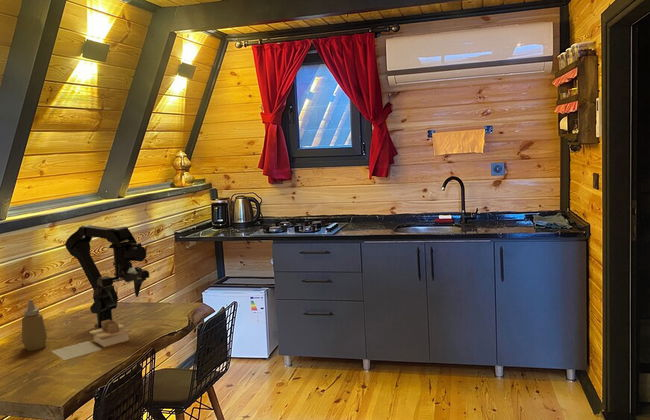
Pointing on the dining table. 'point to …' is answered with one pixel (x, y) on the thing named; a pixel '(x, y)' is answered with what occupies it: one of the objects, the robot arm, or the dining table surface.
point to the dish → (112, 340)
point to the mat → (76, 350)
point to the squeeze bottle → (33, 328)
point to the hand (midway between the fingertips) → (125, 299)
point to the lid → (110, 330)
